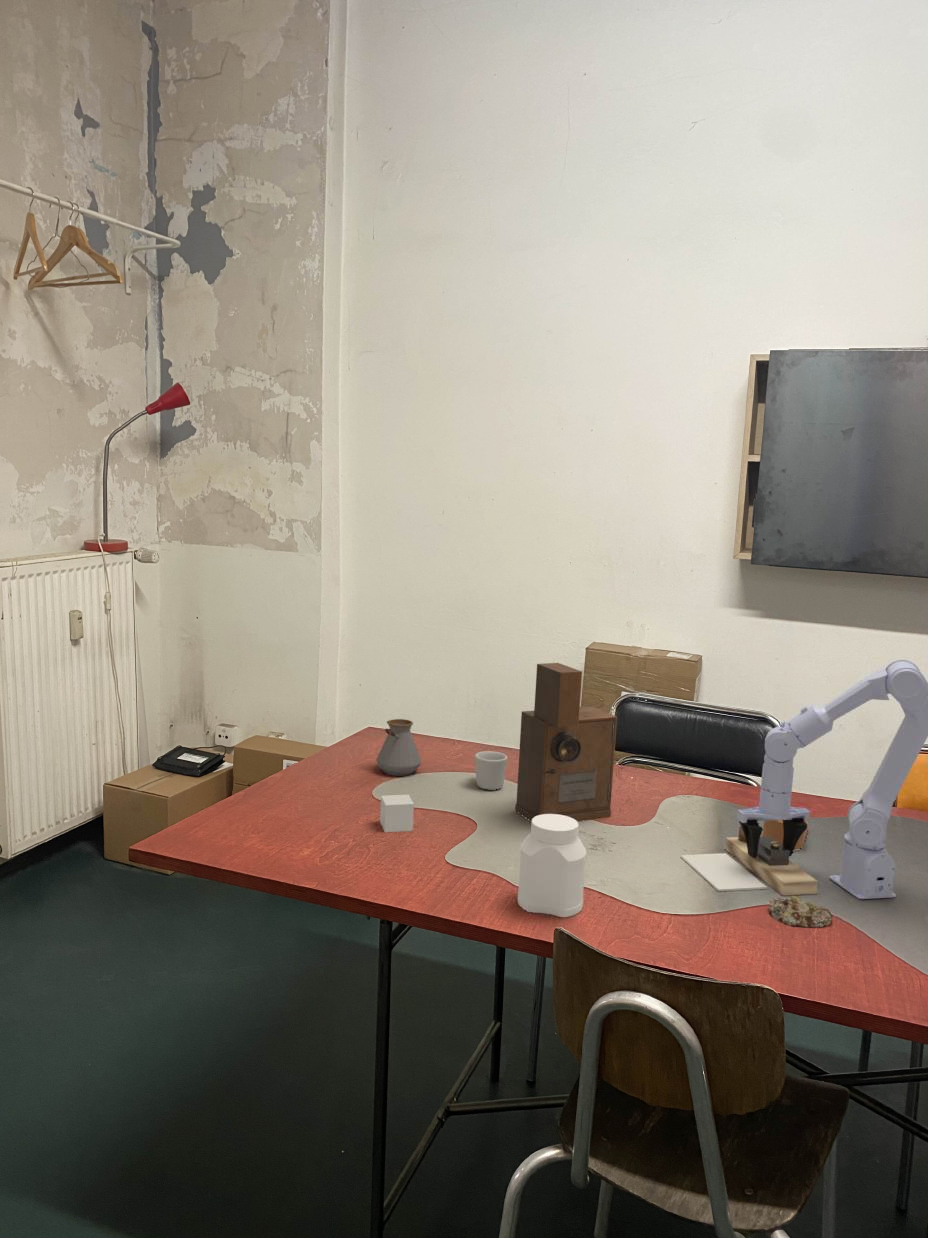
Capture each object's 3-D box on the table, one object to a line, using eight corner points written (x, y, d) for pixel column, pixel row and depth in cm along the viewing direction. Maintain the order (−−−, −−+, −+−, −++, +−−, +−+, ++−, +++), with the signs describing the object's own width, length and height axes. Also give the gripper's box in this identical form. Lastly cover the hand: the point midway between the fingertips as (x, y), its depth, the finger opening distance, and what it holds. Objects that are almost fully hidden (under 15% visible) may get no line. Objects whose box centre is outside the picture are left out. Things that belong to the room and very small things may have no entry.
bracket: (801, 854, 189) (804, 822, 188) (759, 846, 192) (762, 815, 191) (808, 827, 205) (811, 798, 204) (770, 820, 208) (772, 791, 207)
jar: (512, 910, 157) (517, 827, 155) (522, 887, 166) (527, 809, 164) (579, 920, 154) (585, 836, 152) (585, 896, 164) (591, 817, 162)
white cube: (412, 831, 191) (414, 804, 190) (384, 832, 190) (385, 805, 189) (407, 821, 197) (408, 794, 196) (380, 822, 195) (380, 795, 195)
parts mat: (766, 889, 171) (767, 887, 170) (718, 891, 168) (718, 889, 168) (725, 855, 186) (725, 853, 186) (680, 857, 184) (680, 855, 184)
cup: (463, 780, 226) (464, 749, 225) (491, 777, 230) (493, 746, 228) (482, 794, 217) (483, 761, 215) (511, 790, 220) (513, 759, 219)
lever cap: (788, 865, 176) (790, 846, 175) (769, 866, 175) (771, 847, 175) (769, 850, 183) (770, 832, 182) (751, 851, 182) (752, 833, 181)
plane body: (816, 893, 169) (819, 868, 169) (782, 895, 168) (785, 870, 167) (755, 847, 191) (757, 825, 190) (724, 849, 189) (726, 826, 189)
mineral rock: (768, 911, 157) (771, 882, 163) (765, 931, 158) (768, 901, 165) (834, 926, 153) (834, 895, 160) (831, 946, 155) (831, 915, 162)
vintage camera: (547, 833, 193) (557, 672, 188) (515, 811, 206) (523, 659, 201) (621, 823, 202) (632, 668, 197) (585, 802, 214) (595, 656, 209)
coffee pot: (382, 762, 237) (384, 706, 235) (425, 766, 236) (427, 710, 234) (360, 788, 217) (362, 727, 214) (407, 793, 215) (409, 731, 213)
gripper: (797, 781, 182) (791, 846, 184) (732, 783, 179) (726, 848, 181) (818, 793, 176) (811, 860, 177) (750, 795, 172) (744, 863, 174)
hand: (769, 855), depth 179 cm, fingers open, 7 cm apart
